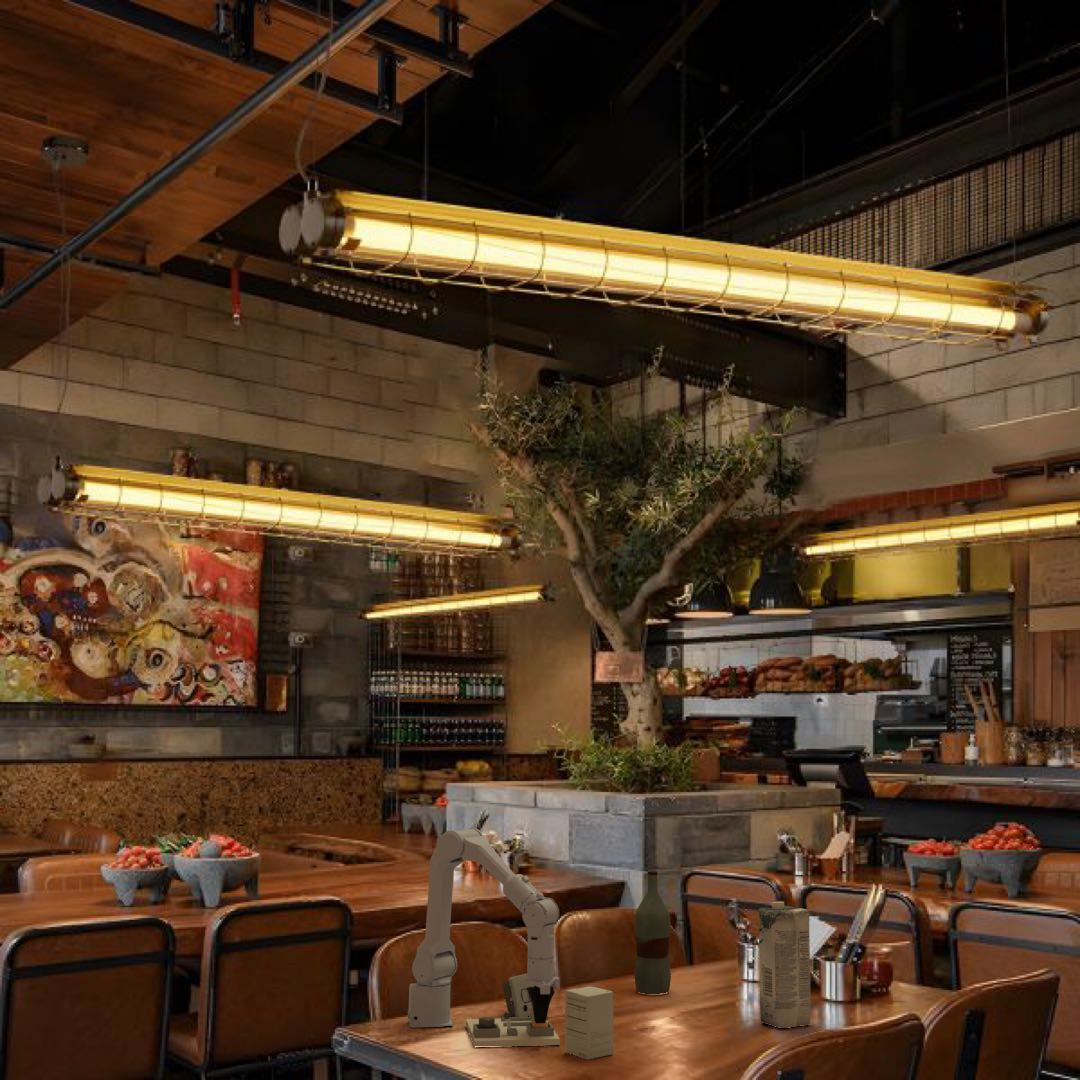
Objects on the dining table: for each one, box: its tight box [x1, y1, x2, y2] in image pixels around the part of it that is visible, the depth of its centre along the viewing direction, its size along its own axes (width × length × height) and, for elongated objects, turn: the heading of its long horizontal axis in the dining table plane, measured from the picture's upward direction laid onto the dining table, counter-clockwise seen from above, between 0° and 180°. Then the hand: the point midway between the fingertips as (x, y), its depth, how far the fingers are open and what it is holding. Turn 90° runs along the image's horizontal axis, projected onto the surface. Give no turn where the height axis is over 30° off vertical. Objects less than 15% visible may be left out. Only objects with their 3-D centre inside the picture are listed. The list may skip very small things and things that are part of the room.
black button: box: [478, 1016, 496, 1028], centre depth 286 cm, size 3×3×2 cm
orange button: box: [532, 1021, 548, 1028], centre depth 288 cm, size 3×3×2 cm
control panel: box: [465, 1016, 561, 1047], centre depth 292 cm, size 18×20×3 cm
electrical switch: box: [502, 973, 534, 1017], centre depth 313 cm, size 9×5×9 cm, turn 141°
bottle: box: [634, 869, 672, 994], centre depth 340 cm, size 9×9×30 cm
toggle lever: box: [502, 1011, 512, 1030], centre depth 287 cm, size 2×2×4 cm
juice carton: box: [758, 901, 812, 1028], centre depth 306 cm, size 9×10×27 cm
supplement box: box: [564, 985, 615, 1061], centre depth 278 cm, size 7×7×13 cm
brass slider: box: [529, 1007, 535, 1022], centre depth 298 cm, size 2×3×3 cm, turn 8°
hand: (540, 1022), depth 288 cm, fingers closed, pressing on orange button
